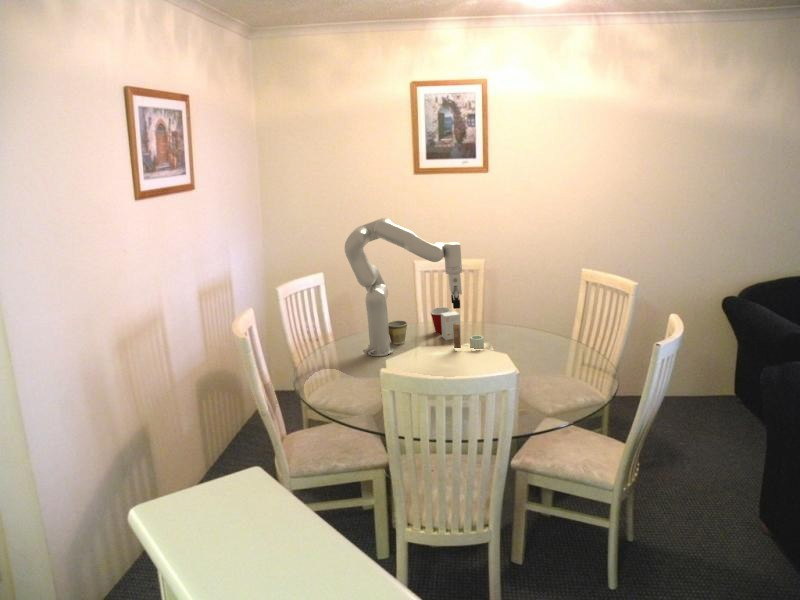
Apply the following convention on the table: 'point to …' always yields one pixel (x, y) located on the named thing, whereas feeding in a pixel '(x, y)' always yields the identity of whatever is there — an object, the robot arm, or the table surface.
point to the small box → (449, 324)
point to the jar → (477, 342)
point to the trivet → (486, 345)
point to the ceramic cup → (397, 331)
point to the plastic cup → (438, 317)
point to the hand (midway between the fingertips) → (455, 305)
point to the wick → (456, 335)
